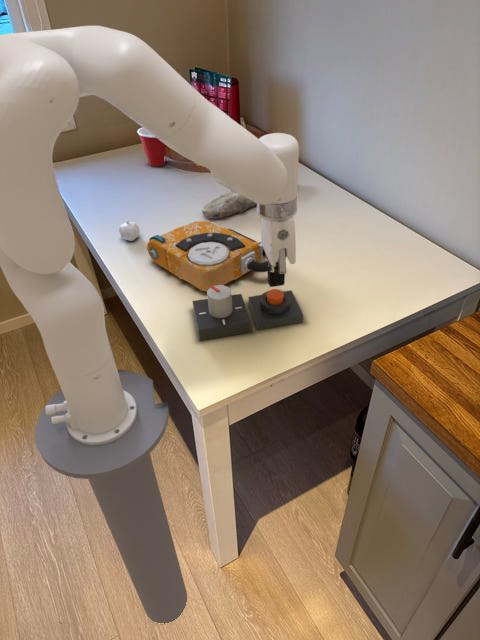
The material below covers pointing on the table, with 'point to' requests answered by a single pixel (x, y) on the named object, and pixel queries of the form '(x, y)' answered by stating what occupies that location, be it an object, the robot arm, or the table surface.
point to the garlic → (129, 230)
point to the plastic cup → (152, 148)
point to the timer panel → (221, 320)
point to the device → (207, 254)
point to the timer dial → (219, 301)
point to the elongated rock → (226, 205)
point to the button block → (275, 311)
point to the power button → (275, 297)
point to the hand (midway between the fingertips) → (276, 283)
